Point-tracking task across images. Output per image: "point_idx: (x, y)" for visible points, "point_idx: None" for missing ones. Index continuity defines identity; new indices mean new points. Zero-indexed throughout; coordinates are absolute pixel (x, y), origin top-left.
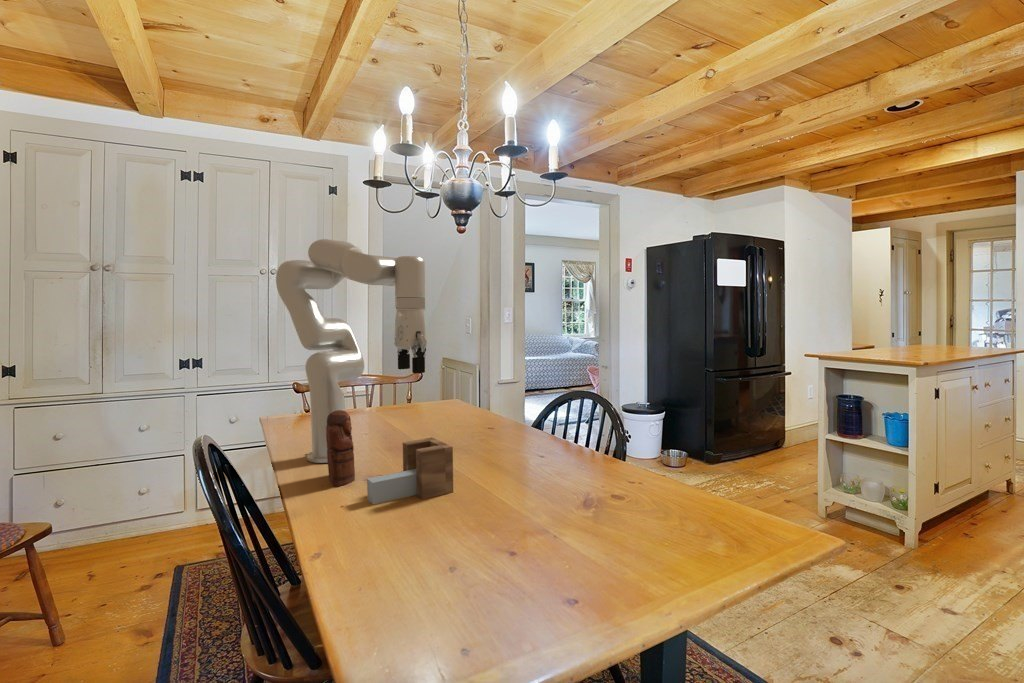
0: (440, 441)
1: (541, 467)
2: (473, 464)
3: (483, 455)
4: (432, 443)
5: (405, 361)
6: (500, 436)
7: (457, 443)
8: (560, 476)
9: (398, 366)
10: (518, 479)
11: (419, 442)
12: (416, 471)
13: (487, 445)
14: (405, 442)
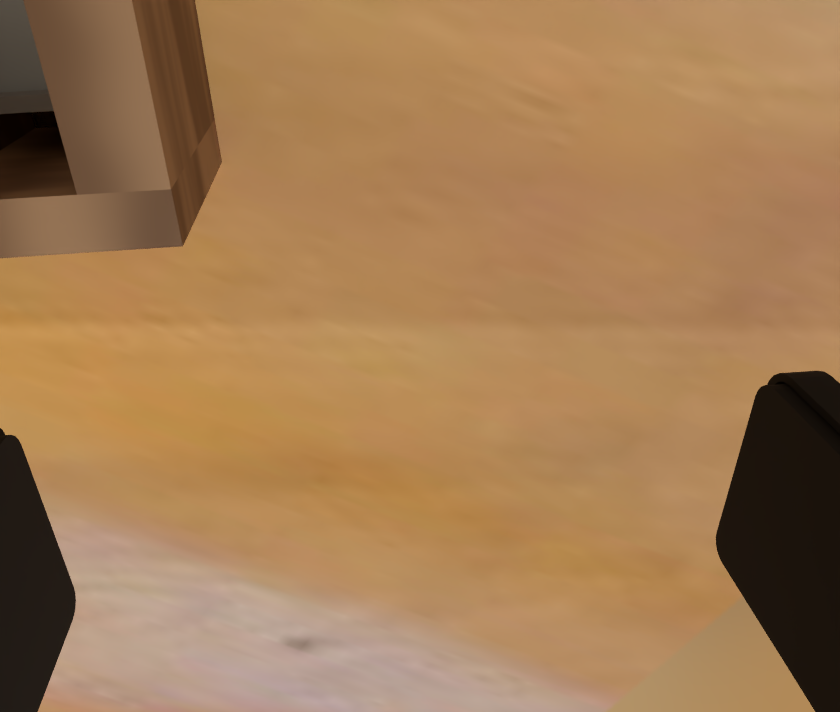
0: (35, 252)
1: (167, 595)
2: (353, 410)
3: (452, 489)
4: (39, 193)
5: (812, 595)
6: (653, 631)
7: (697, 469)
8: None
9: (817, 396)
10: (54, 476)
11: (64, 108)
12: (12, 13)
13: (575, 552)
14: (111, 4)
